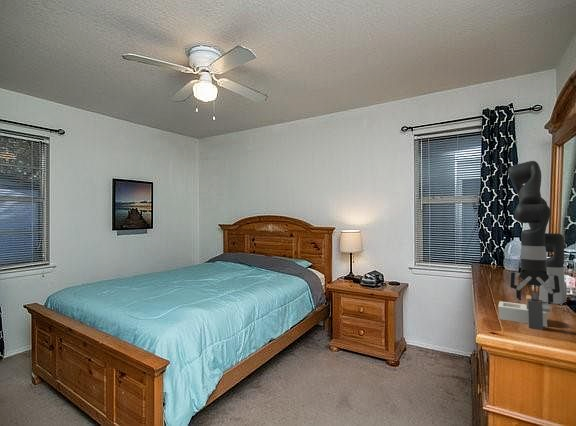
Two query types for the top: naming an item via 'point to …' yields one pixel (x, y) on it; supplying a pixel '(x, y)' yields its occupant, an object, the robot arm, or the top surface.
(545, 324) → the socket block
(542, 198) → the robot arm
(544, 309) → the shutter
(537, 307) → the plug
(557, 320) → the top surface
